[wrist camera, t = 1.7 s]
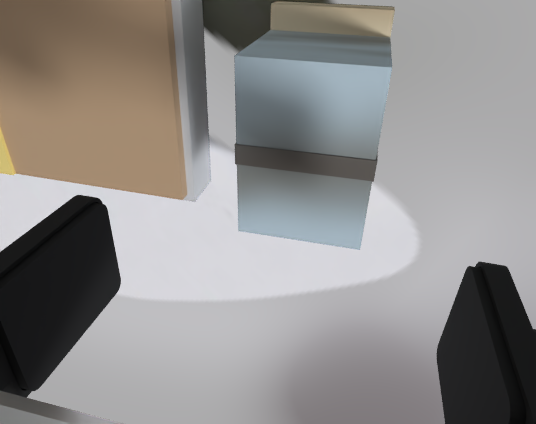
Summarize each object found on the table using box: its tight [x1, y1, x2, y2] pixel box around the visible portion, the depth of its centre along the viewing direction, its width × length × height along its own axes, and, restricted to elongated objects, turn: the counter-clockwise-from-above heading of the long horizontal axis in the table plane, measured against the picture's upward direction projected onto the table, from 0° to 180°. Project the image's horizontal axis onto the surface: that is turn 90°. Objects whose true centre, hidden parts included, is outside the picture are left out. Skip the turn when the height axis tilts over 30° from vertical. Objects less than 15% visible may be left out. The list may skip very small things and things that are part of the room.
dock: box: [0, 0, 211, 202], centre depth 20 cm, size 12×12×3 cm
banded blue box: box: [234, 1, 395, 250], centre depth 18 cm, size 9×5×6 cm, turn 178°
